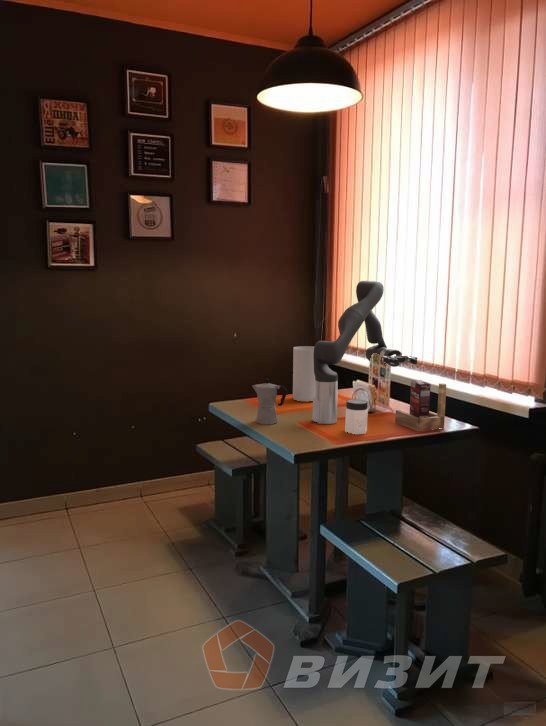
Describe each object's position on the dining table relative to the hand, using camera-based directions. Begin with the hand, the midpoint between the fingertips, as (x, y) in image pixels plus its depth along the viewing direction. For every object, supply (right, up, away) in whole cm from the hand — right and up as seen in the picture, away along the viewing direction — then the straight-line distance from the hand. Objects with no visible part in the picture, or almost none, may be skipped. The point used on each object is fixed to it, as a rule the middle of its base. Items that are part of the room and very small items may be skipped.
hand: (406, 361), depth 251 cm
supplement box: (+3, -24, -8) cm, 25 cm away
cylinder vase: (-40, -18, +38) cm, 58 cm away
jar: (-23, -27, -18) cm, 40 cm away
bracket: (+3, -26, -8) cm, 27 cm away
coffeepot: (-57, -25, -5) cm, 63 cm away
